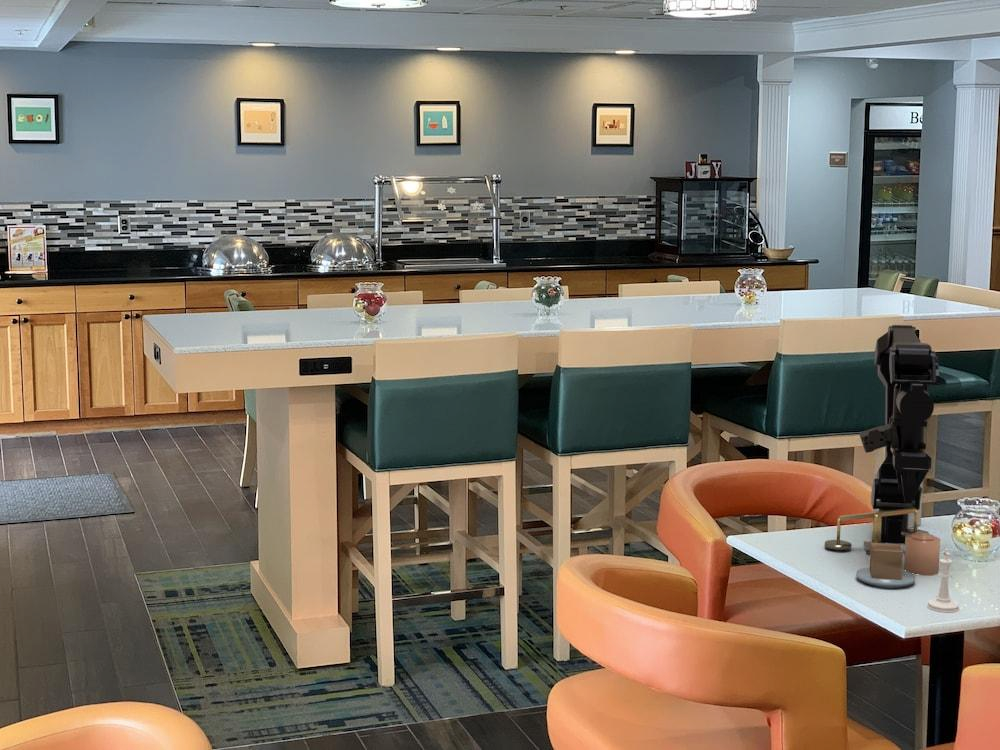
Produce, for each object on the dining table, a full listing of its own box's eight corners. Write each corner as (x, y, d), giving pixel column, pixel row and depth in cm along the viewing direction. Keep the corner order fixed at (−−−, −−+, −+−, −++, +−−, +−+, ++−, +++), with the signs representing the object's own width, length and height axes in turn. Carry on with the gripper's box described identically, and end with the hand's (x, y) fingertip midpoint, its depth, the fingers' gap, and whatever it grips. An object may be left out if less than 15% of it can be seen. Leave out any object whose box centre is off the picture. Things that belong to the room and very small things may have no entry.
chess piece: (938, 613, 211) (942, 554, 210) (921, 604, 216) (924, 546, 214) (965, 611, 212) (968, 552, 211) (947, 601, 217) (950, 543, 216)
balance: (823, 544, 251) (825, 499, 250) (925, 549, 248) (928, 504, 246) (825, 552, 246) (827, 507, 244) (929, 558, 242) (932, 512, 241)
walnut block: (869, 569, 231) (870, 542, 230) (898, 571, 230) (900, 544, 229) (871, 578, 226) (873, 550, 225) (901, 579, 225) (903, 552, 224)
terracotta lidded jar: (902, 564, 238) (903, 530, 237) (936, 566, 237) (938, 532, 236) (905, 574, 232) (907, 539, 231) (940, 576, 231) (942, 541, 230)
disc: (853, 570, 234) (854, 565, 234) (911, 574, 232) (911, 568, 232) (858, 587, 224) (858, 581, 224) (918, 591, 222) (918, 585, 222)
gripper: (859, 402, 246) (855, 483, 248) (867, 420, 227) (863, 507, 230) (920, 405, 243) (916, 486, 246) (933, 422, 225) (929, 510, 228)
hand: (904, 496), depth 237 cm, fingers open, 9 cm apart
